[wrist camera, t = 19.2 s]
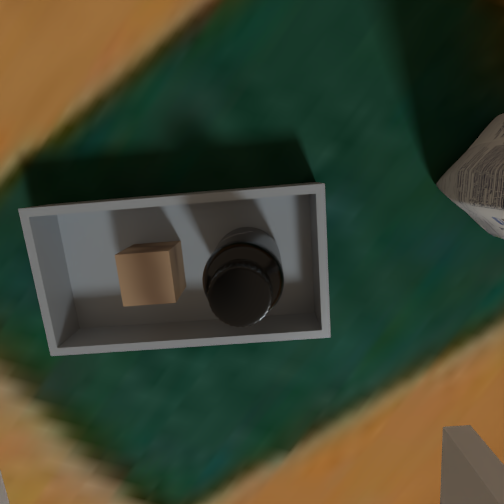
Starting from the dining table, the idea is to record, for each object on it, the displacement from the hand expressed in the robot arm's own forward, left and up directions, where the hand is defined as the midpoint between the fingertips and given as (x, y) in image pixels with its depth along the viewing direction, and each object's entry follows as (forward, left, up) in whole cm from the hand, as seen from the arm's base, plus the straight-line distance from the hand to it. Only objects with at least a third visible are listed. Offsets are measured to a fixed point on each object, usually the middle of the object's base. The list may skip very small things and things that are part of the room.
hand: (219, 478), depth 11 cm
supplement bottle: (0, 0, -28) cm, 28 cm away
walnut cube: (-9, 0, -28) cm, 29 cm away
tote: (-6, 0, -28) cm, 29 cm away
